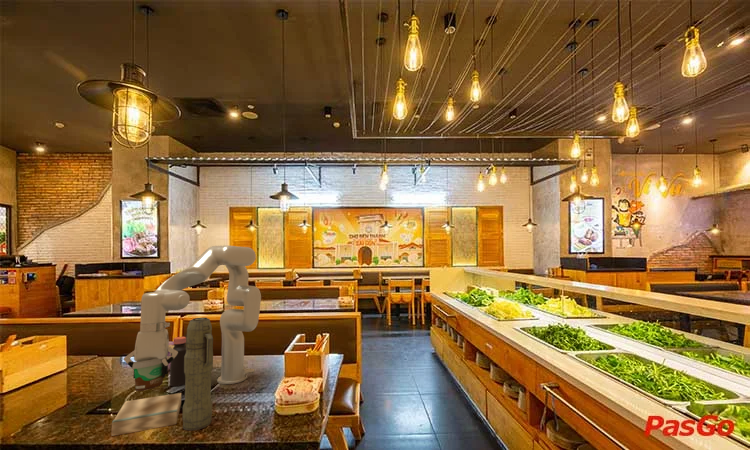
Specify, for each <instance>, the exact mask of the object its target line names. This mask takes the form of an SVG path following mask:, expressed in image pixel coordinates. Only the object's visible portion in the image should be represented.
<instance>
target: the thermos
mask: <svg viewBox="0 0 750 450" xmlns="http://www.w3.org/2000/svg"><path fill="white" fill-rule="evenodd" d="M212 331H213V327H212V323H211V320H210V318H208V317H195V318H192V319H191V320H189V323H188V325H187V328H186V335H185V337H186V344H185V346H186V354H185V356H184V373H185V384H184V386H185V387H184V403H183V405H182V417H181V418H182V429H183V430H184V431H198V430H201V429H204V428H206V427H208V426H210V424H211V423H212V414H213V400H212V397H211V395H212V394H211V393H212V371H213V369H214V351H213V349H214V345H213V344H214V338H213V332H212Z"/></svg>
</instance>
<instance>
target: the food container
mask: <svg viewBox="0 0 750 450" xmlns="http://www.w3.org/2000/svg"><path fill="white" fill-rule="evenodd" d="M133 362H134V363H133V367H132V368H131V369H132V370H133V369H134V370H133V376H134V375H135V378H134V386H135V392H141V391H142V392H143V391H147V390H152V389H155V388H157V387H159V386H161V385H162V384H163V382H164V378H163V377H162V367H163V362H162V359H158V358H156V359H152V360H148V361H141V362H136V361H133Z"/></svg>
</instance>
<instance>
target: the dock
mask: <svg viewBox="0 0 750 450" xmlns="http://www.w3.org/2000/svg"><path fill="white" fill-rule="evenodd" d="M181 405H182V392H178V393H172V394H165V395H158V396H153V397H145V398H140V399H139V398H138V399H133V400H126V401H124V403H123V405H122V406H121V408H120V409H119V411H118V413H117V415H116V416H115V418H114V419H113V420H112V422H111V437H112V436H113V437H114V436H119V435H123V434H124V435H125V434H130V433H134V432H135V433H136V432H141V431H147V430H150V429H156V428H162V427H163V428H164V427H168V426H173V425H177V422H178V419H179V413H180V410H181Z"/></svg>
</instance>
